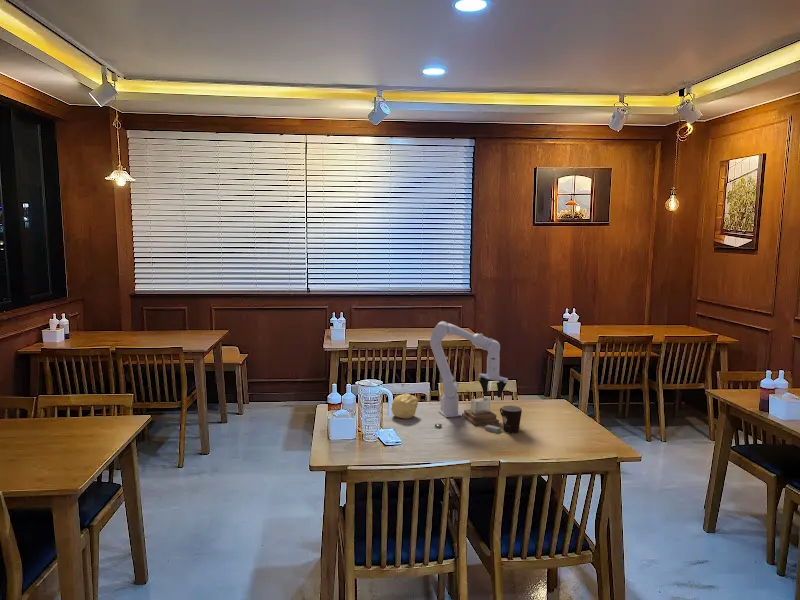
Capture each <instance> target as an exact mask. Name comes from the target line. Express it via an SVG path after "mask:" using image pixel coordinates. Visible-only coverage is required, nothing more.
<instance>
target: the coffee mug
mask: <svg viewBox="0 0 800 600" xmlns="http://www.w3.org/2000/svg"><path fill="white" fill-rule="evenodd" d="M522 412H523V409H522V407H520V406H516V405H504V406H502V407H500V409H499V413H500V415H501V417H502V426H503V427H502V429H503V432H504V433H507V434H518V433H519V429H520V426H521V418H522Z"/></svg>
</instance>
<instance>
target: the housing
mask: <svg viewBox="0 0 800 600" xmlns="http://www.w3.org/2000/svg"><path fill="white" fill-rule="evenodd" d="M470 409H471V413H473V414H475V415H478V414H484V413H489V412H490V411H491V399H490V398H488V397H479V398H472V399H470Z"/></svg>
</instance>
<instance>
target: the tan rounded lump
mask: <svg viewBox="0 0 800 600" xmlns="http://www.w3.org/2000/svg"><path fill="white" fill-rule="evenodd" d="M392 402H393V403H392ZM392 402H391V405H392V408H391V409H390V410H391V411H392V414H393V416H395V417H396V418H400V419H404V420H405V419H410V418H413V417H414V416H415V415H416V411H417V409H418V404H419V399H418V398H417V397H416V396H415V395H413V394H412V395H411V394H409V393H407V392H406V393H404V394H399V395H397V396H395V398H393V400H392Z"/></svg>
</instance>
